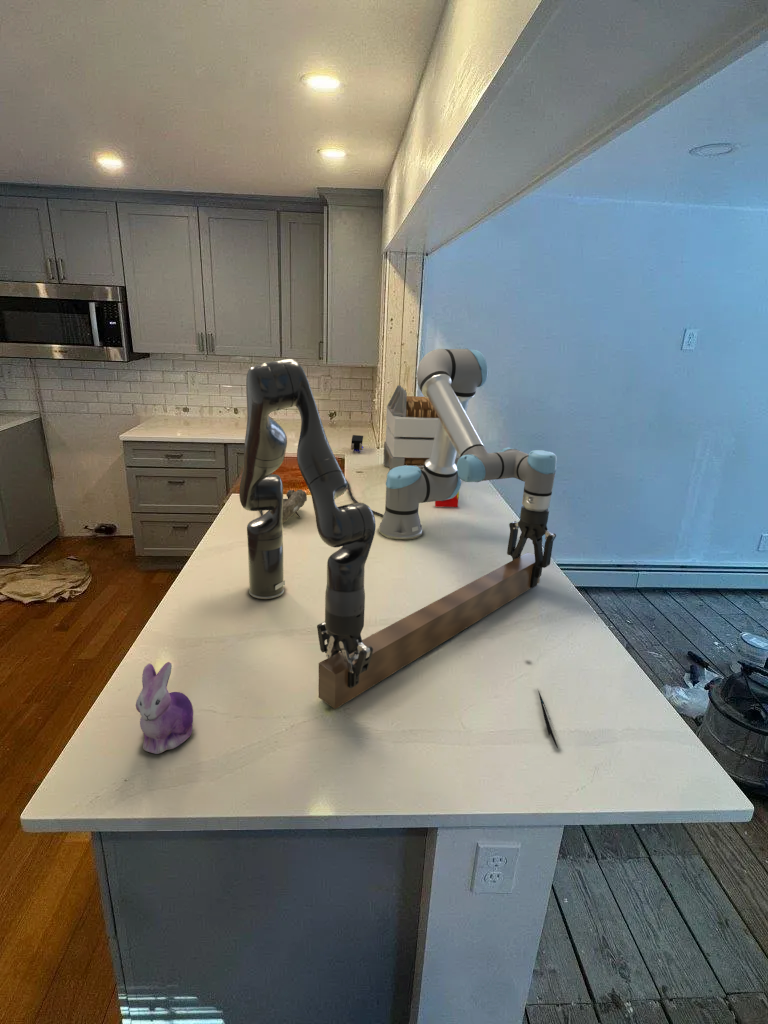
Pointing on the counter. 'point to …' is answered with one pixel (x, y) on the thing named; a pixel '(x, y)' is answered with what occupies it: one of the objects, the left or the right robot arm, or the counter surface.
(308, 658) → the counter surface
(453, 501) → the toy
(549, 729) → the feather
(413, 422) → the white slatted box
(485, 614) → the bar
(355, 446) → the figurine character
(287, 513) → the fossil
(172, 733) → the figurine
